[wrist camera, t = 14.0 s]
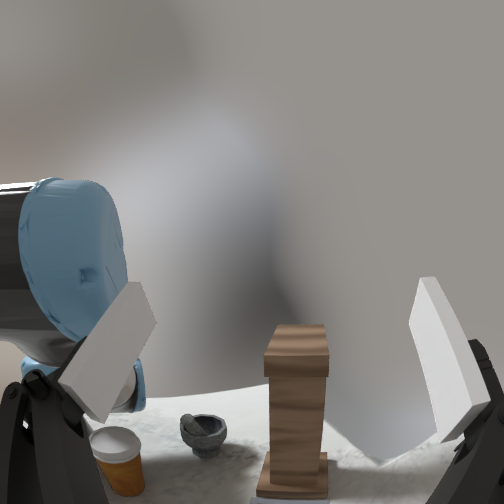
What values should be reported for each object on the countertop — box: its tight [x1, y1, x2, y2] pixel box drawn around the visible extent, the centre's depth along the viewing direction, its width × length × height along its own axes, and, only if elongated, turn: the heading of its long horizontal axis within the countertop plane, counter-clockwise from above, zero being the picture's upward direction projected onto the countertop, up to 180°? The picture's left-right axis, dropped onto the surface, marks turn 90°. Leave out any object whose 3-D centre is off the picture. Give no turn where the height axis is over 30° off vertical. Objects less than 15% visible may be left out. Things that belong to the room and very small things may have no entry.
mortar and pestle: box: [180, 414, 227, 458], centre depth 51 cm, size 11×9×12 cm
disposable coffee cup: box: [89, 426, 145, 496], centre depth 36 cm, size 10×10×12 cm
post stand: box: [256, 324, 329, 499], centre depth 42 cm, size 16×12×29 cm
